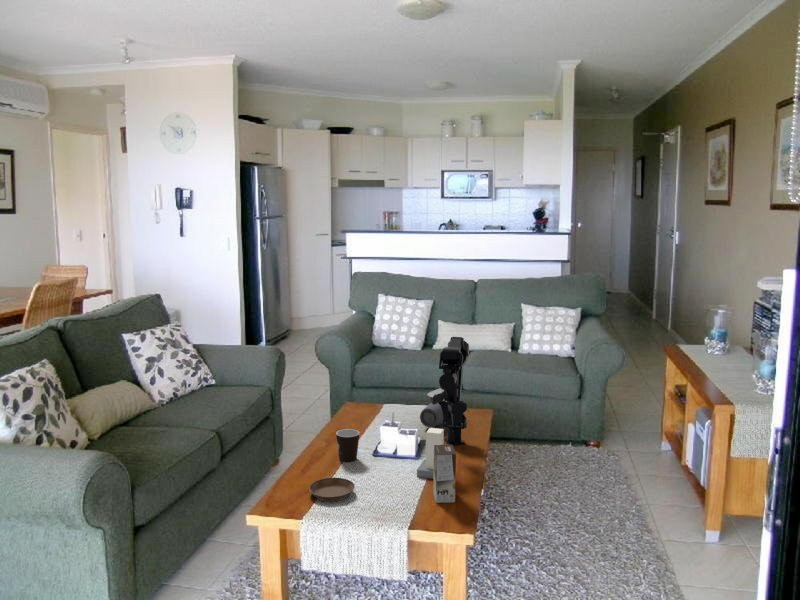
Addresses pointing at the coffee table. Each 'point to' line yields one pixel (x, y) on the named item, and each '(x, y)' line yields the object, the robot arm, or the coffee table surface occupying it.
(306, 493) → the coffee table surface
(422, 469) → the plinth
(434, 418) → the bluetooth speaker
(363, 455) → the coffee table surface
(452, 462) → the coffee box
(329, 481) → the saucer
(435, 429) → the post
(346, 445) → the coffee mug
